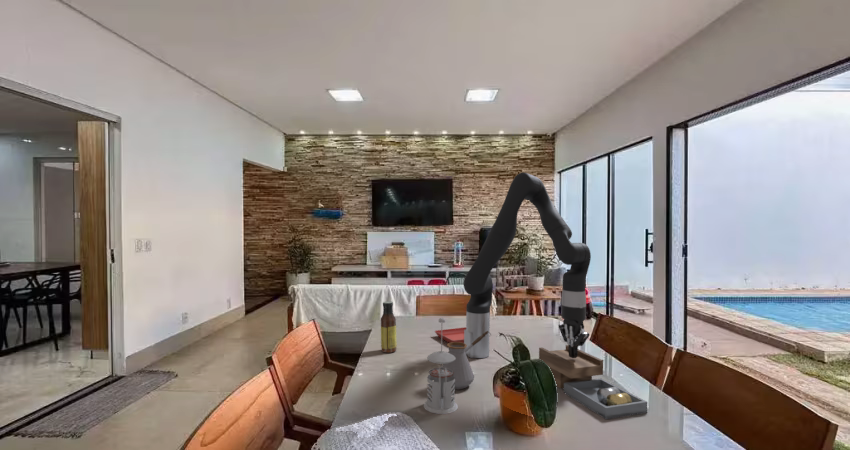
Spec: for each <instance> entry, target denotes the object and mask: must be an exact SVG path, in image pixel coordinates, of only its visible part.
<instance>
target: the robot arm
mask: <svg viewBox="0 0 850 450" xmlns="http://www.w3.org/2000/svg"><path fill="white" fill-rule="evenodd" d="M525 200H526V201H529V202H530V203H531V204H532V205H533V206H534V207H535V209H536V210H537V212H538V214H539V217H540V222H541V224H542V226H543V229H544V230H545V232H546V234H547V235H548V237H549V238H550V239H551V241H552V244H553V247H554V251H555V253H556V256H557V258H558V260H560V261H561V263H563V264H565V265H567V266H570V269H568V270H567V271H565V273H563V274H562V292H561V311H560V312H561V313H560V315H561V318H562V319H563V321H562V322H563V323H562V324H558V329H559V331H560V334H561V336H562V340H563V342H565V343H567V345H569V347H568V353H569V357H571V358H577V356H578V349H579V347H582V346H584V344H585V343H586V341H588V339H589V337H590V332H587V331H586V330H585V325H584V321H586V319H587V295H586V277H587V274H588V272H589V267H590V263H591V256H592V255H591V250H590V248H589V246H588V245H587V244H586V243H584V242H571V241H570V240H571V238H572V236H573V233H572V229H571V228H570V226H569V225H568V224H567V223H566V220H565V219H564V218H563V217H562V215H561V214H560V213H559V211H558V210H557V208H556V207H555V205H554V202H553V201H552V199H551V197H550V195H549V194H548V191H547V189H546V186H545V185H544V182H543V181H542V180H541V179H540V178H539V177H537V176H536V175H533V174H530V173H527V172H525V171H524V172H519V173H517V175H516V176H514V178H513V179H512V181H511V183H510V186H509V188H508V191H507V193H506V196H505V199H504V202H503V204H502V206H501V208H500V210H499V213H498V214H497V217H496V219H495V221H494V223H493V225H492V226H491V228H490V231H488V234H487V237H486V239H485V241H484V243H483V245H482V246H481V249H480V251H479V253H478V255H477V257H476V259H475V260H474V262H473V264H472V266H471V267H470V269H469V271H468V272H467V273H466V275H465V276H464V279H463V288H464V291H465V292H466V294H468V295H469V296H470V298H469V301H467V304H466V308H465V309H466V316H465V319H466V322H465V323H466V325H465V327H466V329H465V330H464V343H465V344H466V345H467V347H468V346H470V345H471V344H472V343H473V342H474V341H475V340H476V339H477V338H478V337H480V336H481V335H482V334H483V333H485V332H486V331H488V334H487V335H488V336H487V335H485V337H483V338H482V339H481V340H480V341H479V342H478V343H476V344H475V345H474V346H472V347H471V348H470V349H469V350H468V351H467V352H465V354H466V356H467V358H468V357H469V359H470V358H475V359H484V358H488V357H489V356H490V333H491V332H490V331H491V330H490V328H491V327H490V326H491V325H490V321H491V320H490V318H491V312H490V311H491V306H492V303H493V302H492V301H493V288H494V287H493V280H492V276H491V271H493V268H494V267H495V265H496V264H497V263H498V262H499V261H500V260H501V259H502V257H504V255H505V253H507V251H508V250H509V248H510V246H511V245H512V242H513V241H514V239H515V237H516V234H517V227H518V225H517V224H518V213H519V210H520V208H521V206H522V204H523V202H524V201H525ZM489 332H490V333H489ZM467 347H466V348H467ZM466 348H465V349H466Z"/></svg>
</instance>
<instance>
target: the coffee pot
mask: <svg viewBox="0 0 850 450" xmlns="http://www.w3.org/2000/svg"><path fill="white" fill-rule="evenodd" d="M487 334H488V331H486V332H485V333H483V334H482V335H481V336H480V337H478V338H477V339H476V340H475V341H474V342H473V343H472V344H471V345H470V346H468V347H467V345H466V344H465V343H461V342H451V343H449V342H447V344H446V347H448V353H450V354H452V355H453V356H455V358H456V359H455V360H454V361H453V362H451V363H447V364H442V368H447V369H451V370H452V371H453V372H454V374H453V376H454V377H455V382H454V384H455V387H454V388H455V390H462V389H466V388H468V387H469V386H470V385H471V384H472V383H473V381H475V374H474V371H473V369H472V366H471V365H470V361H469V359H468V356H467V355H466V354H465V352H467V351H468V350H469V349H470V348H471V347H472V346H474V345H475V344H476V343H478V342H479V341H480V340H481V339H482V338H483V337H485V335H487ZM487 336H488V335H487ZM489 336H492V333H491V332H489ZM466 347H467V348H466ZM465 348H466V349H465ZM447 382H450V381H448V380H447ZM451 389H452V387H451Z"/></svg>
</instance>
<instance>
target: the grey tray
mask: <svg viewBox="0 0 850 450" xmlns="http://www.w3.org/2000/svg"><path fill="white" fill-rule="evenodd" d="M611 387H616V388H617V389H618V390H619V391H620V393H627V394H628V395H629V396H630V398H631V400H632V403H626V404H619V405H613V406H608V404H602V403H601V402H600V401H599V400H598V397H597V391H598V390H599V389H604V388H611ZM563 393H564V394H565V393H566V394H565V395H567V396H568V395H569V396H568V397H570V398H571V397H572V398H571V399H573V400H574V399H575V401H576V402H577V403H579V404H580V405H582V406H584V407H585V408H587V409H589V410H590V411H592V412H594V413H595V414H597V415H599V416H600V417H602V418H603V419H605V420H609V419H617V418H623V417H629V416H636V415H641V414H647V413H648V401H647V400H645V399H642V398H641V397H640V396H639V397H638V396H637V395H635V394H634V393H630V392H628V391H627V390H625V389H623V388H621V387H619V386H617V385H615V384H614V383H611V382H609V381H607V380H605V379H603V378H594V379H593V378H592V380H584V381H576V382H568V383H564V388H563Z"/></svg>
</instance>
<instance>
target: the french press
mask: <svg viewBox="0 0 850 450" xmlns="http://www.w3.org/2000/svg"><path fill="white" fill-rule="evenodd" d="M438 323H441V328H440V330H441V338H440V341H441V342H440V343H441V344H440V345H441V347H440V349H441V350H439V351H435V352H432V353H430V354H429V355H427V357H426V358H427V361H428V362H430V363H432V364H438V365H439V364H440V367H433V368H431V369H429V370H428V375H427V377H426V378H427V379H426V382H427V383H426V386H427V387H428V388H426V391H427V392H426V395H427V396H426V401H425V402H424V403H423V408H424V409H425V410H426V411H427V412H429V413H432V414H439V415H445V414H450V413H454V412H456V411H457V410H458V408H459V405H458V404H457V402H455V399H456V398H455V397H456V396H455V395H456V393H455V392H456V389H455V388H454V387H455V384H454V382H455V377H454V376H453V374H454V372H453V371H452V370H451V369H447V368H442V366H443V364H447V363H451V362H453V361H454V360H455V359H456V358H455V356H453V355H452V354H450V353H448V352H449V351H448V352H447V351H443V339H442V330H443V323H446V319H445V318H444V317H441V318H439V319H438ZM447 380H448V381H450V382H447ZM451 387H452V388H451Z"/></svg>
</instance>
